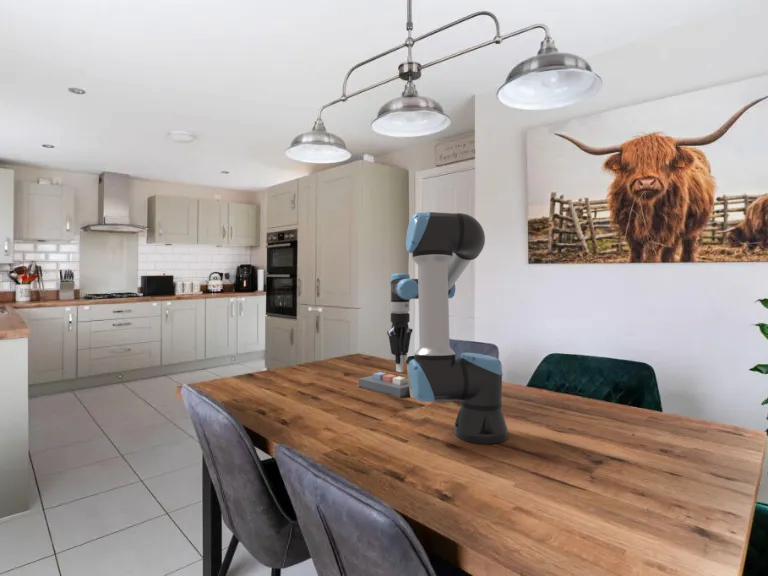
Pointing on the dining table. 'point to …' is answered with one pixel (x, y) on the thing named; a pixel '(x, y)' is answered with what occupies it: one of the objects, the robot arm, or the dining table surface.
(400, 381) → the key ivory
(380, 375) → the key blue
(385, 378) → the key red
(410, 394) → the coffee cup
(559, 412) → the dining table surface
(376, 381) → the console
